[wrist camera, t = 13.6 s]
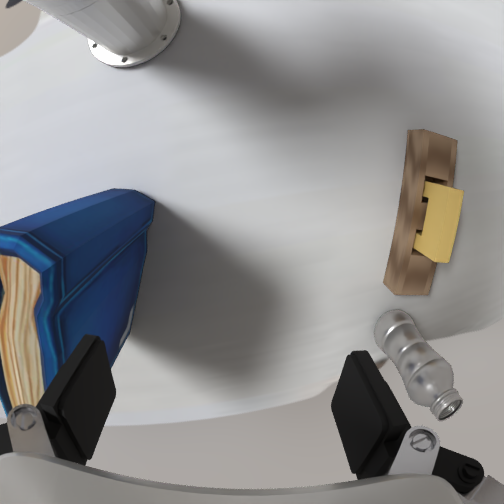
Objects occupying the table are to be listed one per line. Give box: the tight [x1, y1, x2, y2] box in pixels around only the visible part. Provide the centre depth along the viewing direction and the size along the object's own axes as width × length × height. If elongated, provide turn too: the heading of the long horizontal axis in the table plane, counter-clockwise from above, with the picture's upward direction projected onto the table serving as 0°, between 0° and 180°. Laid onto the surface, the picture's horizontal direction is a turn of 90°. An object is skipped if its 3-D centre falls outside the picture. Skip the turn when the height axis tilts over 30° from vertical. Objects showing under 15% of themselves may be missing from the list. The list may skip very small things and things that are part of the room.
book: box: [0, 188, 155, 416], centre depth 27 cm, size 22×7×25 cm, turn 160°
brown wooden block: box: [383, 129, 457, 295], centre depth 36 cm, size 22×6×4 cm, turn 175°
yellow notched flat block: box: [413, 181, 464, 263], centre depth 34 cm, size 9×2×8 cm, turn 175°
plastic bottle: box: [374, 310, 463, 421], centre depth 34 cm, size 6×7×20 cm
